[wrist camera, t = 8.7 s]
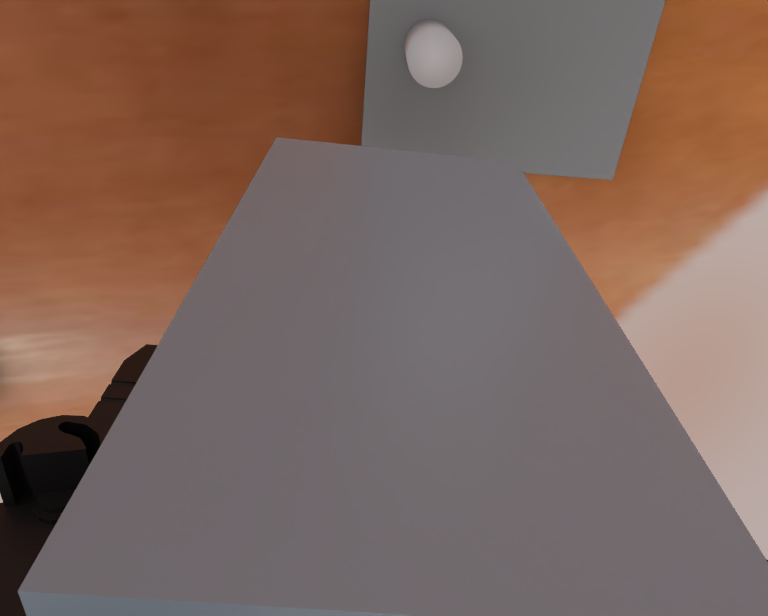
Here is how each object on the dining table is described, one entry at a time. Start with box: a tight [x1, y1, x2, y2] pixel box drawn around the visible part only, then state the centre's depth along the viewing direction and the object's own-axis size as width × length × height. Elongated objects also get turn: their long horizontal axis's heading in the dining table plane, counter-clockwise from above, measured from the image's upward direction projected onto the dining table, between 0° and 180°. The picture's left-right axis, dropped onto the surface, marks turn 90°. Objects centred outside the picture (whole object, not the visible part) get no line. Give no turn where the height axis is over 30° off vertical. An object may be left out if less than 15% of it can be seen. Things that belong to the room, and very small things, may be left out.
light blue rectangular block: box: [18, 137, 768, 616], centre depth 10 cm, size 5×7×10 cm
